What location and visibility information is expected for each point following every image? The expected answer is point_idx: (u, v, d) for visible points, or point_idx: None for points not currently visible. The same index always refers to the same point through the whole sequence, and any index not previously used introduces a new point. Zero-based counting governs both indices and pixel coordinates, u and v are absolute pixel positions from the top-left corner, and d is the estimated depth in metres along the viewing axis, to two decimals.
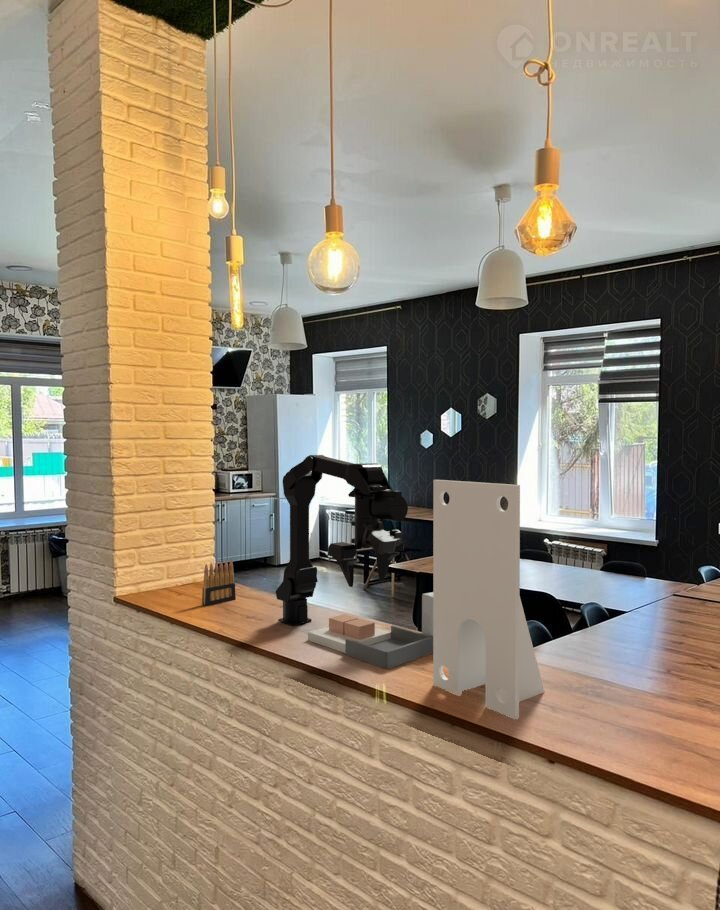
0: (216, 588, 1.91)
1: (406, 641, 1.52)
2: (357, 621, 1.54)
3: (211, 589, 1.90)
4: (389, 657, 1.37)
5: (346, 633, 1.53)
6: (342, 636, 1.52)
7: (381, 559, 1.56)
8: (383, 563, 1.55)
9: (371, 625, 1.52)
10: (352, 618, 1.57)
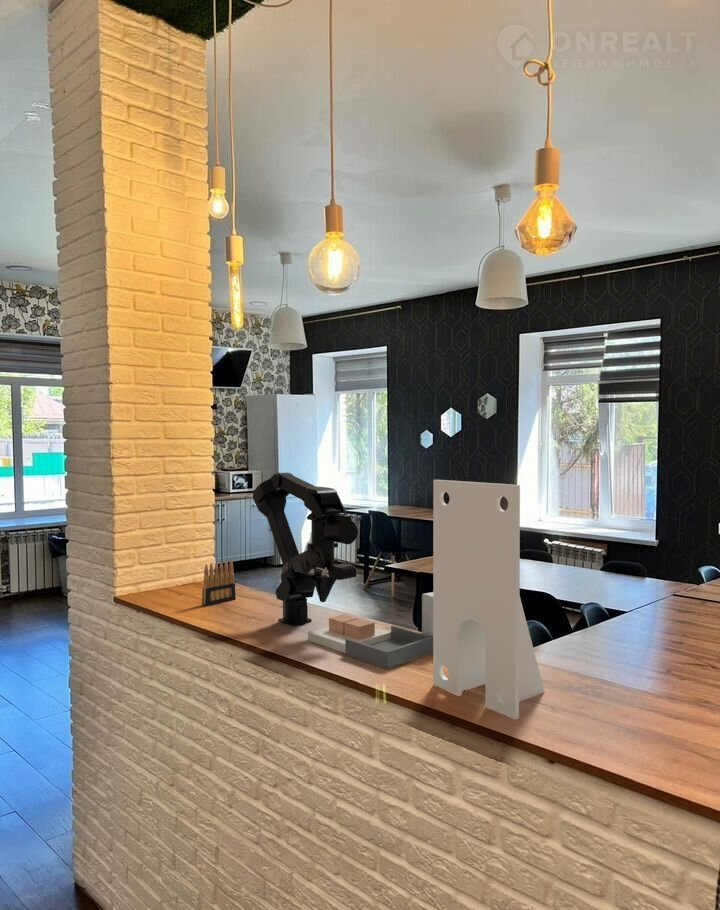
0: (216, 588, 1.91)
1: (406, 641, 1.52)
2: (357, 621, 1.54)
3: (211, 589, 1.90)
4: (389, 657, 1.37)
5: (346, 633, 1.53)
6: (342, 636, 1.52)
7: None
8: None
9: (371, 625, 1.52)
10: (352, 618, 1.57)
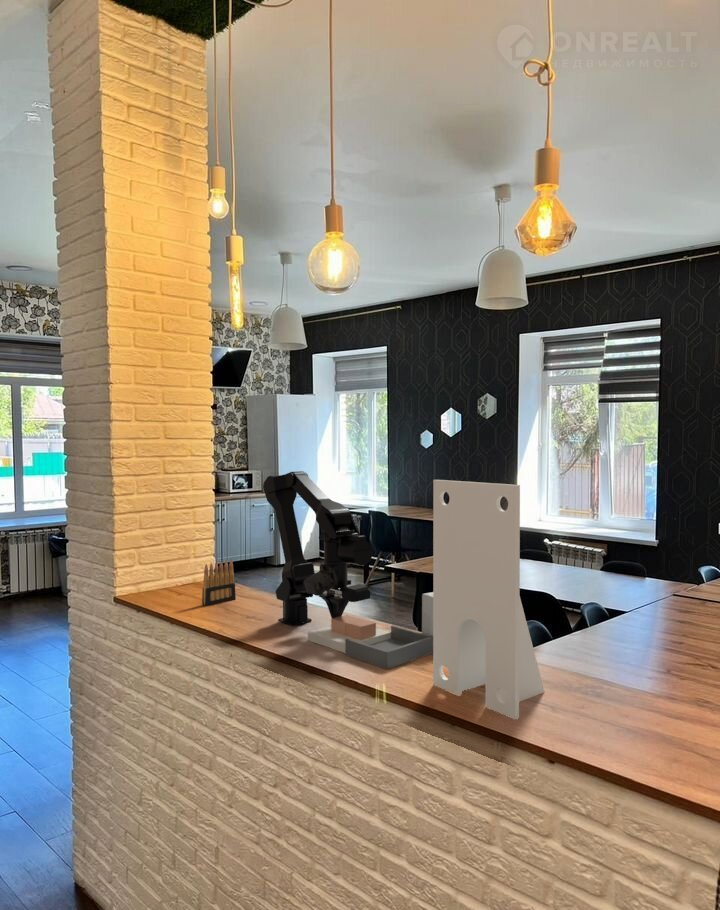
0: (216, 588, 1.91)
1: (406, 641, 1.52)
2: (358, 621, 1.54)
3: (211, 589, 1.90)
4: (389, 657, 1.37)
5: (347, 633, 1.53)
6: (342, 636, 1.52)
7: None
8: None
9: (372, 625, 1.52)
10: (354, 618, 1.57)
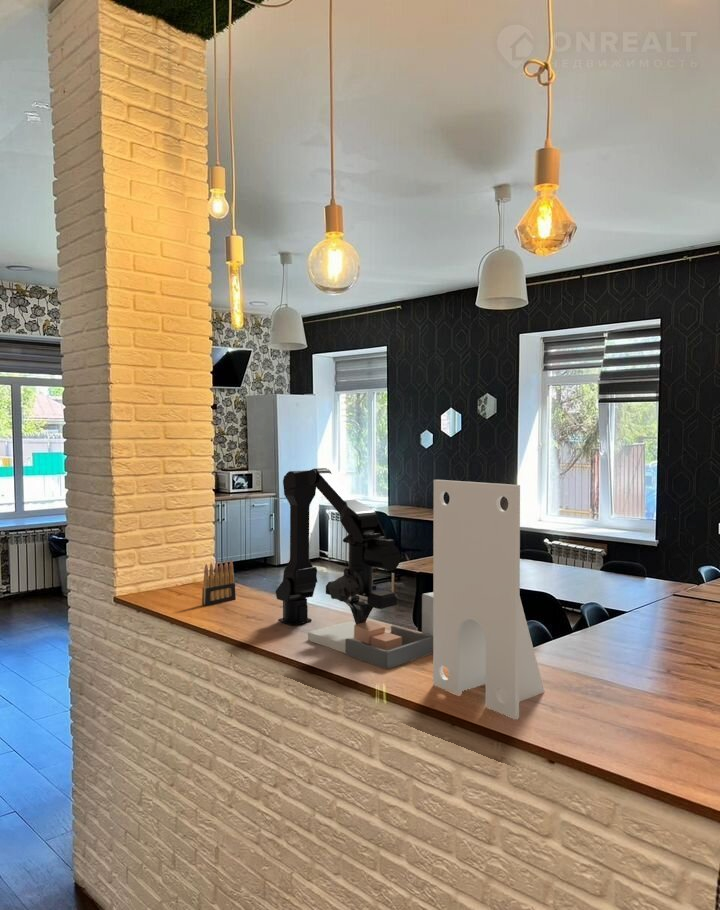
0: (216, 588, 1.91)
1: (406, 641, 1.52)
2: (383, 635, 1.48)
3: (211, 589, 1.90)
4: (389, 657, 1.37)
5: None
6: (342, 636, 1.52)
7: None
8: None
9: (398, 639, 1.46)
10: (378, 626, 1.50)
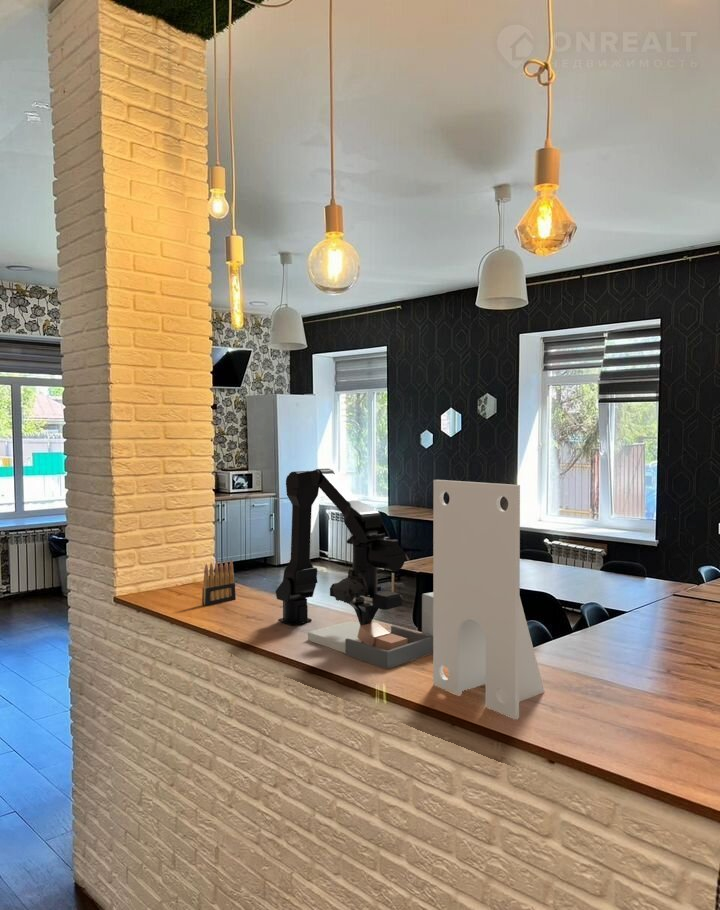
0: (216, 588, 1.91)
1: None
2: (389, 637, 1.47)
3: (211, 589, 1.90)
4: (389, 657, 1.37)
5: None
6: (342, 636, 1.52)
7: None
8: None
9: (404, 641, 1.45)
10: (383, 631, 1.49)
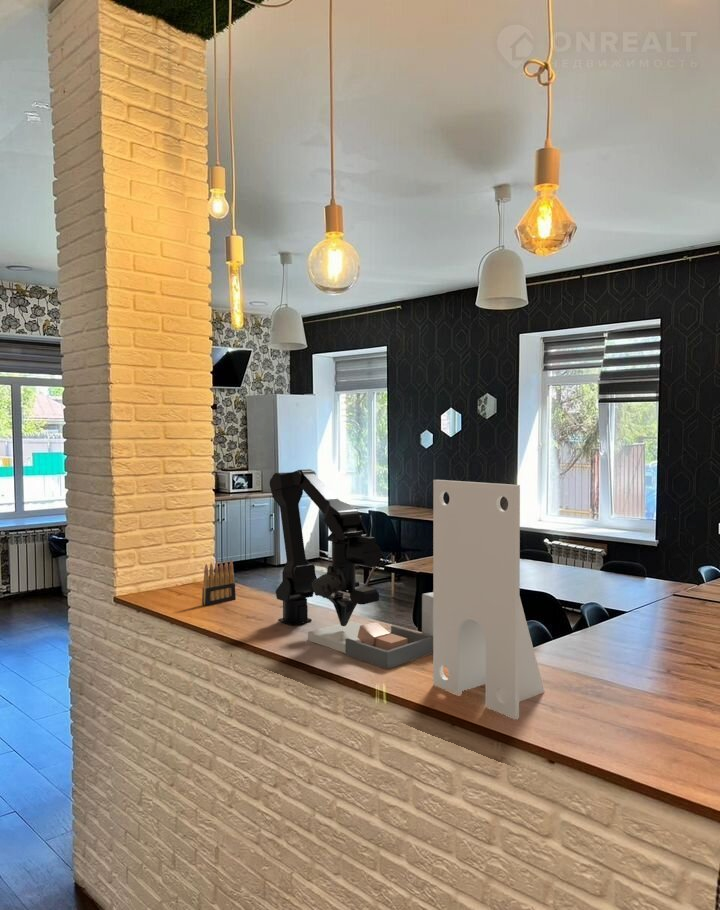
0: (216, 588, 1.91)
1: None
2: (389, 637, 1.47)
3: (211, 589, 1.90)
4: (389, 657, 1.37)
5: None
6: (342, 636, 1.52)
7: None
8: None
9: (404, 641, 1.45)
10: (383, 631, 1.49)
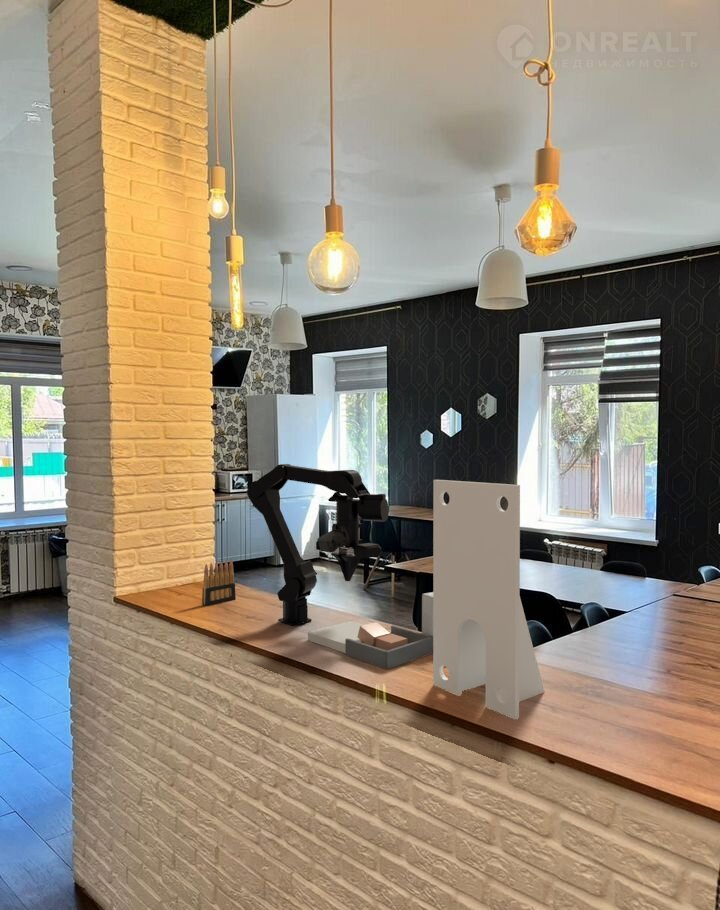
0: (216, 588, 1.91)
1: None
2: (389, 637, 1.47)
3: (211, 589, 1.90)
4: (389, 657, 1.37)
5: None
6: (342, 636, 1.52)
7: None
8: None
9: (404, 641, 1.45)
10: (383, 631, 1.49)
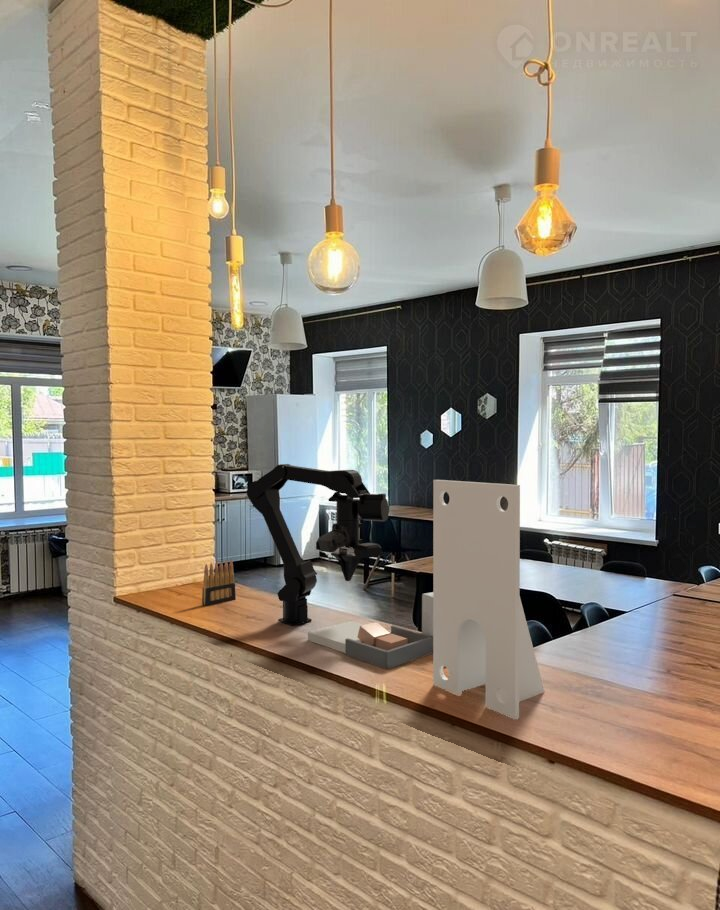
0: (216, 588, 1.91)
1: None
2: (389, 637, 1.47)
3: (211, 589, 1.90)
4: (389, 657, 1.37)
5: None
6: (342, 636, 1.52)
7: None
8: None
9: (404, 641, 1.45)
10: (383, 631, 1.49)
